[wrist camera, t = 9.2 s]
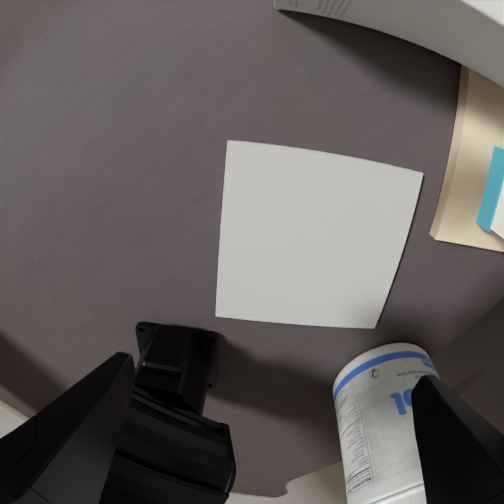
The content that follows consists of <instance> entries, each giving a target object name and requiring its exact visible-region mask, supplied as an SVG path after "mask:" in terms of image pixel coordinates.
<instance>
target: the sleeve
mask: <svg viewBox="0 0 504 504" xmlns="http://www.w3.org/2000/svg"><path fill="white" fill-rule="evenodd" d="M476 223H477V224H478V225H480V226H481V227H482V228H484V229H485V230H487V231H489V232H493V233H497V234H498V235H499V236H501V237H502V238H503V239H504V149H502V148H499V147H496V146H494V150H493V155H492V160H491V165H490V170H489V174H488V179H487V183H486V187H485V191H484V195H483V199H482V202H481V206H480V210H479V213H478V216H477V220H476Z"/></svg>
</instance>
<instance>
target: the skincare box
mask: <svg viewBox="0 0 504 504" xmlns="http://www.w3.org/2000/svg"><path fill="white" fill-rule="evenodd" d="M273 4H274V8H275V9H282V10H290V11H297V12H303V13H309V14H314V15H319V16H324V17H329V18H334V19H338V20H342V21H346V22H350V23H354V24H358V25H361V26H365V27H368V28H372V29H375V30H378V31H381V32H384V33H387V34H390V35H393V36H396V37H399V38H402V39H405V40H407V41H410V42H413V43H415V44H418V45H420V46H423V47H425V48H427V49H430V50H432V51H434V52H437V53H439V54H441V55H443V56H446V57H448V58H450V59H452V60H454V61H456V62H458V63H460V64H462V65H464V66H466V67H468V68H470V69H472V70H474V71H475V72H477V73H479V74H481V75H483V76H484V77H486V78H488V79H490V80H491V81H493V82H495V83H496V84H498V85H500V86H501V87H503V88H504V0H273Z"/></svg>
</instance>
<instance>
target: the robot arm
mask: <svg viewBox="0 0 504 504" xmlns="http://www.w3.org/2000/svg"><path fill="white" fill-rule="evenodd" d="M141 328H143V329H141ZM136 335H137V341H138V347H139V352H140V359H139V361H138V363H137V366H136V368H135V367H134V362H133V357H132V355H131V354H129V353H125V352H117V353H115V354H114V355H113V356H111V357H110V358H109V359H107V360H106V361H105V362H103V363H102V364H101V365H100V366H98V367H97V368H96V369H94V370H93V371H92V372H90V373H89V374H88V375H86V376H85V377H84V378H82V379H81V380H80V381H79V382H77V383H76V384H75V385H73V386H72V387H71V388H69V389H68V390H67V391H65V392H64V393H63V394H61V395H60V396H59V397H58V398H56V399H55V400H54V401H52V402H51V403H50V404H48V405H47V406H46V407H44V408H43V409H42V410H41V411H39V412H38V413H37V414H36V416H35V415H34V416H33V417H31V418H30V419H29V420H27V421H26V422H25V423H23V424H22V425H20V426H19V427H18V428H16V429H15V430H13V431H12V432H10V433H9V434H7V435H5V436H4V437H2V438H0V504H224V503H225V502H226V500H227V499H228V497H229V493H230V491H231V489H232V487H233V484H234V481H235V476H236V464H235V458H234V453H233V447H232V441H231V435H230V429H229V425H227V424H224V423H218V422H216V421H213V420H210V419H208V418H205V417H203V410H204V404H205V399H206V393H207V388H208V389H213V388H215V386H216V371H217V349H218V336H217V335H216V334H215V333H213V332H206V331H198V330H191V329H184V328H177V327H170V326H164V325H157V324H151V323H145V322H139V323H138V324H137V325H136ZM209 338H212V340H211V339H209ZM411 404H412V412H413V421H414V430H415V437H416V443H417V448H418V453H419V458H420V464H421V470H422V476H423V482H424V489H425V496H426V503H427V504H504V435H503V434H502V433H500V431H498V430H497V429H496V428H495V427H494V426H493V425H492V424H490V423H489V422H488V421H487V420H486V419H485V418H484V417H483V416H481V415H480V414H479V413H478V412H477V411H475V410H474V409H473V408H472V407H471V406H470V405H469V404H468V403H466V402H465V401H464V400H463V399H462V398H460V397H459V396H458V395H457V394H456V393H455V392H454V391H452V390H451V389H450V388H449V387H448V386H447V385H445V384H444V383H443V382H442V381H441V380H440V379H438V378H437V377H436V376H435V375H433V374H428V375H423V376H421V377H420V379H419V380H418V382H417V384H416V385H415V387H414V388H413V390H412V392H411Z"/></svg>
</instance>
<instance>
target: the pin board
mask: <svg viewBox="0 0 504 504" xmlns="http://www.w3.org/2000/svg"><path fill="white" fill-rule="evenodd" d="M494 146H496V147H499V148H502V149H504V88H503V87H501V86H500V85H498V84H496V83H495V82H493V81H491V80H490V79H488V78H486V77H484V76H483V75H481V74H479V73H477V72H475V71H474V70H472V69H470V68H468V67H466V66H464V65H462V64H461V73H460V85H459V95H458V104H457V112H456V119H455V126H454V132H453V138H452V144H451V149H450V154H449V159H448V164H447V169H446V173H445V178H444V182H443V186H442V190H441V194H440V198H439V202H438V206H437V209H436V213H435V217H434V220H433V224H432V227H431V230H430V233H429V234H430V235H431V236H432V237H433V238H435V239H436V240H440V241H446V242H452V243H457V244H463V245H469V246H474V247H480V248H485V249H490V250H495V251H501V252H504V239H503V238H502V237H501V236H499V235H498V234H497V233H493V232H489V231H487V230H485V229H484V228H482V227H481V226H480V225H478V224H477V223H476V220H477V216H478V213H479V210H480V206H481V202H482V199H483V195H484V191H485V187H486V183H487V179H488V174H489V170H490V165H491V160H492V155H493V150H494Z"/></svg>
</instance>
